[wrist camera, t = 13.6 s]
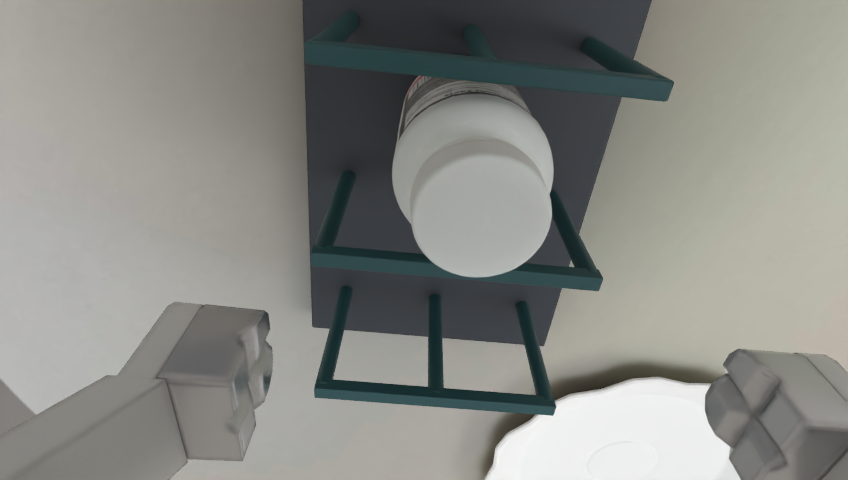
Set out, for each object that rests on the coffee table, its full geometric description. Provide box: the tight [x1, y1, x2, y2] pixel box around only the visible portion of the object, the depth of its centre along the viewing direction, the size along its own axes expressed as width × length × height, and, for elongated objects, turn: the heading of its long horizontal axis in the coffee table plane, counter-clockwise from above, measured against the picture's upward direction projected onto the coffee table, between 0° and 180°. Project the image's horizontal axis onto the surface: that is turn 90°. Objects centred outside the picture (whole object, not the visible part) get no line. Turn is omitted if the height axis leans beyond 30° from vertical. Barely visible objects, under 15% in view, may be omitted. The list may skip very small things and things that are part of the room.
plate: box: [484, 377, 741, 480], centre depth 36 cm, size 21×21×2 cm
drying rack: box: [303, 0, 674, 416], centre depth 21 cm, size 20×14×8 cm
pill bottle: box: [392, 76, 554, 277], centre depth 18 cm, size 5×5×10 cm
